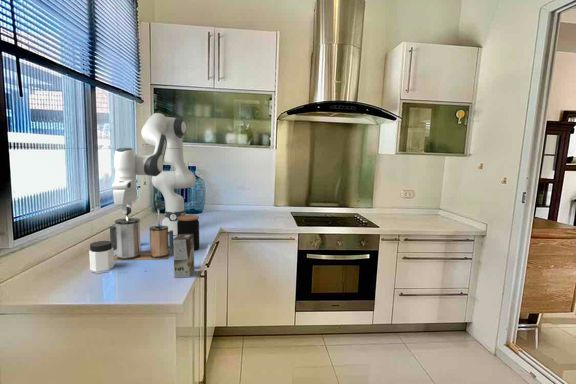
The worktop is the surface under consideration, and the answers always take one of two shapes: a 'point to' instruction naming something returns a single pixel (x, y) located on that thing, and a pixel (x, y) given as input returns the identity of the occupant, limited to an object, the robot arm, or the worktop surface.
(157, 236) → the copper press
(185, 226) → the coffee jar
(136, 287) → the worktop surface
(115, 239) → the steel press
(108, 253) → the jar
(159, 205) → the ball knob plunger
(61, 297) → the worktop surface
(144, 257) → the board
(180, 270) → the coffee box
